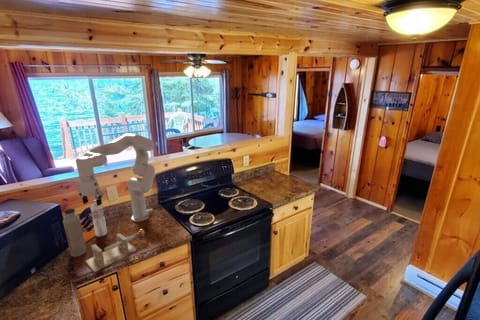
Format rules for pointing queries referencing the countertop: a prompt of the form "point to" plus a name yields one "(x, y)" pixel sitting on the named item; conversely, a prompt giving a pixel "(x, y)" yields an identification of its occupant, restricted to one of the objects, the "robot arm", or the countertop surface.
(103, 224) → the water bottle
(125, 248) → the bracket
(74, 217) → the thermos bottle
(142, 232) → the shaft
